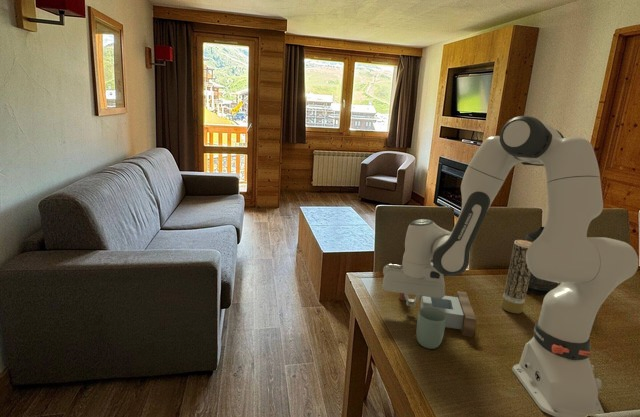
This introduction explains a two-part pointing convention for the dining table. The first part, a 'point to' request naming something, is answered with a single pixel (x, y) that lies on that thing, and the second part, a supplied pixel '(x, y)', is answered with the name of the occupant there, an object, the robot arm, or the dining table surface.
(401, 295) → the sausage
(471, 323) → the walnut wall
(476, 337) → the dining table surface
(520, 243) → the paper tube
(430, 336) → the cup
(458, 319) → the holed block
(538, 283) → the beer stein
